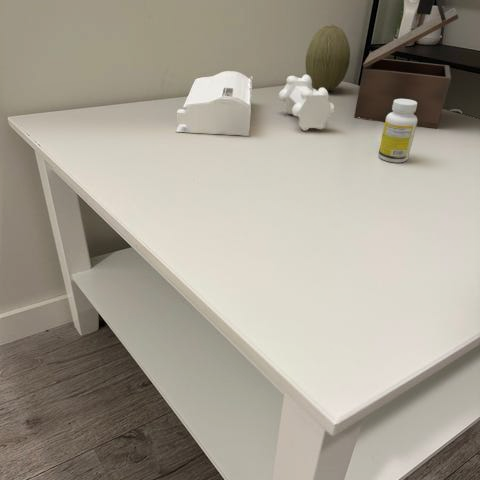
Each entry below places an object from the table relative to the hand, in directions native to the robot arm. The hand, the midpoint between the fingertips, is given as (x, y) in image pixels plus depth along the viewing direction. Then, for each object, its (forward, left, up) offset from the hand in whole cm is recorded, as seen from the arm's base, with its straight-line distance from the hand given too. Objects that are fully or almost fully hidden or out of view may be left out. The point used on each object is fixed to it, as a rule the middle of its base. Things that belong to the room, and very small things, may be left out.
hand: (423, 12), depth 99 cm
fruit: (+21, -15, -21) cm, 33 cm away
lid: (+1, 0, -5) cm, 5 cm away
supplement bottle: (0, +31, -21) cm, 37 cm away
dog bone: (+20, +16, -21) cm, 33 cm away
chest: (+1, 0, -20) cm, 20 cm away
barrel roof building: (+38, +21, -21) cm, 48 cm away
